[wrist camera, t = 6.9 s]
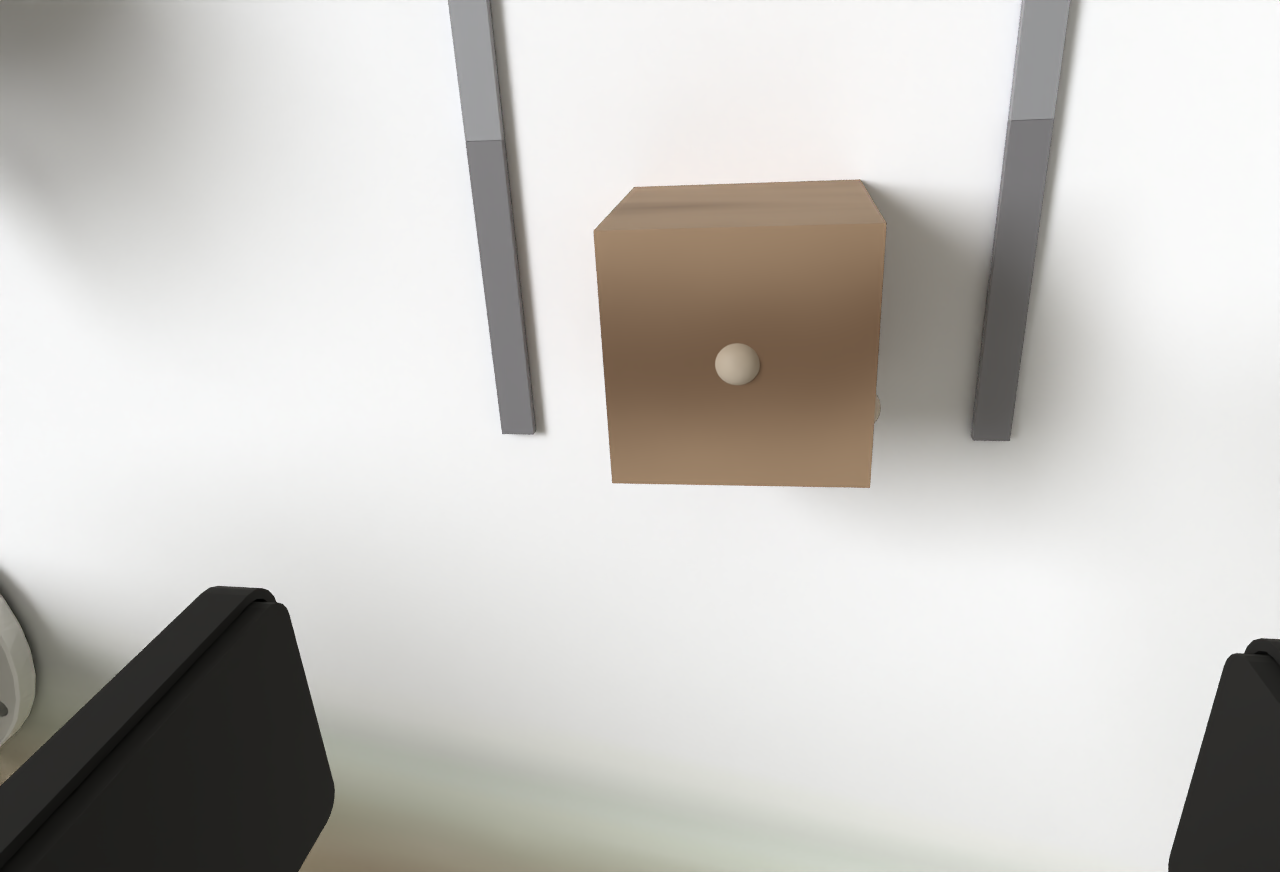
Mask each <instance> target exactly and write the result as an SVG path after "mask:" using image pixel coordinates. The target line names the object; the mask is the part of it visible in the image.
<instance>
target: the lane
mask: <svg viewBox="0 0 1280 872" xmlns="http://www.w3.org/2000/svg"><path fill="white" fill-rule="evenodd" d="M448 5H449V13H450V21H451V29H452V36H453V44H454V52H455V60H456V68H457V76H458V84H459V92H460V100H461V108H462V116H463V124H464V132H465V140H466V148H467V156H468V164H469V172H470V180H471V188H472V196H473V204H474V212H475V220H476V228H477V236H478V244H479V252H480V260H481V268H482V276H483V284H484V292H485V300H486V308H487V316H488V324H489V332H490V340H491V348H492V356H493V364H494V372H495V380H496V388H497V396H498V404H499V412H500V420H501V428H502V434H534V433H535V431H536V427H535V418H534V408H533V399H532V390H531V380H530V371H529V362H528V353H527V343H526V334H525V325H524V315H523V306H522V297H521V288H520V278H519V269H518V260H517V250H516V241H515V232H514V222H513V213H512V204H511V195H510V185H509V176H508V167H507V157H506V148H505V139H504V130H503V120H502V111H501V102H500V92H499V83H498V74H497V64H496V55H495V46H494V37H493V27H492V18H491V9H490V0H448ZM1069 7H1070V0H1022V5H1021V13H1020V22H1019V31H1018V39H1017V48H1016V56H1015V65H1014V73H1013V82H1012V90H1011V99H1010V107H1009V116H1008V119H1009V120H1008V124H1007V133H1006V141H1005V150H1004V158H1003V167H1002V175H1001V184H1000V193H999V201H998V210H997V218H996V227H995V235H994V244H993V252H992V261H991V269H990V278H989V286H988V295H987V303H986V312H985V320H984V329H983V337H982V346H981V354H980V363H979V372H978V380H977V389H976V397H975V406H974V414H973V423H972V431H971V437H972V439H973V440H981V441H1010V435H1011V428H1012V420H1013V413H1014V406H1015V399H1016V391H1017V384H1018V377H1019V370H1020V362H1021V355H1022V348H1023V341H1024V333H1025V326H1026V319H1027V312H1028V304H1029V297H1030V290H1031V283H1032V275H1033V268H1034V261H1035V253H1036V246H1037V239H1038V232H1039V224H1040V217H1041V210H1042V203H1043V195H1044V188H1045V181H1046V174H1047V166H1048V159H1049V152H1050V145H1051V137H1052V130H1053V123H1054V115H1055V108H1056V101H1057V94H1058V86H1059V79H1060V72H1061V65H1062V57H1063V50H1064V43H1065V36H1066V28H1067V21H1068V14H1069Z"/></svg>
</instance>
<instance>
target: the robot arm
mask: <svg viewBox="0 0 1280 872" xmlns="http://www.w3.org/2000/svg"><path fill="white" fill-rule="evenodd" d="M35 680H36V674H35V669H34V664H33V659H32V655H31V650H30V647H29V645H28V642H27V640H26V637H25V635H24V633H23V630H22V628H21V625H20V624H19V622H18V620H17V619H16V617H15V615H14V614H13V612H12V611H11V609H10V607H9V606H8V604H7V602H6V601H5V599H4V598H3V597H2V596H1V594H0V746H1V745H3V744H4V743H5V742H6V741H7V740H8V739H9V738H10V737H11V736H13V735H14V734H15V733H16V732H17V731H18V730H19V729H20V727H21V726H22V724H23V723H24V722H25V720H26V719H27V717H28V716H29V714H30V711H31V708H32V705H33V701H34V698H35ZM334 793H335V789H334V782H333V779H332V775H331V771H330V767H329V763H328V760H327V756H326V752H325V748H324V744H323V741H322V737H321V733H320V729H319V725H318V722H317V718H316V714H315V710H314V706H313V703H312V699H311V695H310V691H309V687H308V684H307V680H306V676H305V672H304V668H303V665H302V661H301V657H300V653H299V649H298V646H297V642H296V638H295V634H294V630H293V627H292V623H291V619H290V615H289V613H288V610H287V608H286V607H285V606H284V605H283V604H281V603H277V602H276V600H275V598H274V596H273V595H272V594H271V593H270V591H269V590H266V589H263V588H247V587H227V586H215V587H210V588H209V589H207V590H206V591H204V592H203V593H201V594H200V595H199V596H198V597H197V598H196V599H195V600H194V601H193V602H192V603H191V604H190V605H189V606H188V607H187V608H186V609H185V610H184V611H183V612H182V613H181V614H180V615H179V616H177V617H176V618H175V619H174V620H173V621H172V622H171V623H170V624H169V625H168V626H167V627H166V628H165V629H164V630H163V631H162V632H161V633H160V634H159V635H158V636H157V637H156V638H155V639H153V640H152V641H151V642H150V643H149V644H148V645H147V646H146V647H145V648H144V649H143V650H142V651H141V652H140V653H139V654H138V655H137V656H136V657H135V658H134V659H133V660H132V661H131V662H129V663H128V664H127V665H126V666H125V667H124V668H123V669H122V670H121V671H120V672H119V673H118V674H117V675H116V676H115V677H114V678H113V679H112V680H111V681H110V682H109V683H108V684H106V685H105V686H104V687H103V688H102V689H101V690H100V691H99V692H98V693H97V694H96V695H95V696H94V697H93V698H92V699H91V700H90V701H89V702H88V703H87V704H86V705H85V706H84V707H82V708H81V709H80V710H79V711H78V712H77V713H76V714H75V715H74V716H73V717H72V718H71V719H70V720H69V721H68V722H67V723H66V724H65V725H64V726H63V727H62V728H61V729H60V730H58V731H57V732H56V733H55V734H54V735H53V736H52V737H51V738H50V739H49V740H48V741H47V742H46V743H45V744H44V745H43V746H42V747H41V748H40V749H39V750H38V751H37V752H35V753H34V754H33V755H32V756H31V757H30V758H29V759H28V760H27V761H26V762H25V763H24V764H23V765H22V766H21V767H20V768H19V769H18V770H17V771H16V772H15V773H14V774H13V775H11V776H10V777H9V778H8V779H7V780H6V781H5V782H4V783H3V784H2V785H1V786H0V872H298V871H299V869H300V868H301V866H302V864H303V862H304V861H305V859H306V857H307V855H308V854H309V852H310V850H311V849H312V847H313V845H314V843H315V842H316V840H317V838H318V837H319V835H320V833H321V831H322V830H323V828H324V826H325V825H326V823H327V821H328V819H329V817H330V814H331V811H332V808H333V803H334ZM1168 872H1280V639H1263V638H1260V639H1257V640H1253V641H1252V642H1251V643H1250V644H1249V645H1248V646H1247V648H1246V650H1245V653H1244V654H1241V653H1236V654H1232V655H1231V656H1230V657H1229V658H1228V659H1227V660H1226V663H1225V665H1224V668H1223V671H1222V675H1221V678H1220V682H1219V685H1218V689H1217V692H1216V696H1215V699H1214V703H1213V706H1212V710H1211V713H1210V717H1209V720H1208V724H1207V727H1206V731H1205V734H1204V738H1203V741H1202V745H1201V748H1200V752H1199V755H1198V759H1197V762H1196V766H1195V769H1194V773H1193V776H1192V780H1191V783H1190V787H1189V790H1188V794H1187V797H1186V801H1185V804H1184V808H1183V812H1182V815H1181V819H1180V822H1179V826H1178V829H1177V833H1176V836H1175V840H1174V843H1173V847H1172V850H1171V854H1170V858H1169V864H1168Z"/></svg>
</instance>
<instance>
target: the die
mask: <svg viewBox="0 0 1280 872" xmlns="http://www.w3.org/2000/svg"><path fill="white" fill-rule="evenodd" d="M885 239H886V221H885V220H884V218H883V216H882V215H881V213H880V211H879V210H878V208H877V206H876V205H875V203H874V202H873V200H872V198H871V197H870V195H869V193H868V192H867V190H866V188H865V187H864V185H863V183H862V182H861V180H831V181H801V182H771V183H741V184H711V185H681V186H651V187H634V188H633V189H632V190H631V191H630V192H629V193H628V194H627V195H626V196H625V198H624V199H623V200H622V201H621V202H620V203H619V204H618V205H617V206H616V207H615V208H614V209H613V210H612V211H611V213H610V214H609V215H608V216H607V217H606V218H605V219H604V220H603V221H602V222H601V223H600V224H599V225H598V227H597V228H596V229H595V230H594V244H595V257H596V271H597V284H598V298H599V311H600V324H601V338H602V351H603V365H604V378H605V392H606V405H607V419H608V432H609V445H610V459H611V472H612V483H630V484H687V485H744V486H800V487H857V488H870V479H871V463H872V447H873V431H874V423H875V422H876V420H877V419H878V417H879V414H880V409H881V407H880V401H879V398H878V396H877V395H876V383H877V367H878V351H879V335H880V319H881V303H882V287H883V271H884V255H885Z"/></svg>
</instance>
